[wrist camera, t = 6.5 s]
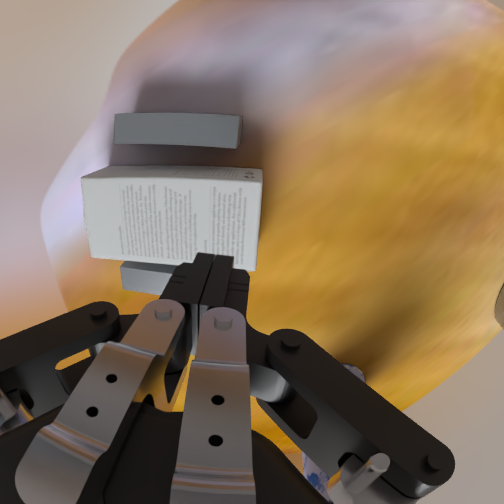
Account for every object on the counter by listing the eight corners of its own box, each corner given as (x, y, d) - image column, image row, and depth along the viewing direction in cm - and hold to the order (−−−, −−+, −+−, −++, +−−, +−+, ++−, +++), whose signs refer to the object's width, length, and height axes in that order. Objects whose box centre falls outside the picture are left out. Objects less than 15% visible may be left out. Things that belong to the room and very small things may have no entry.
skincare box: (264, 168, 20) (107, 163, 20) (264, 181, 16) (78, 175, 16) (257, 246, 23) (113, 235, 23) (255, 275, 19) (88, 259, 19)
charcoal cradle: (243, 116, 19) (239, 116, 16) (228, 282, 24) (223, 303, 22) (133, 113, 19) (114, 114, 16) (136, 270, 24) (123, 289, 22)
